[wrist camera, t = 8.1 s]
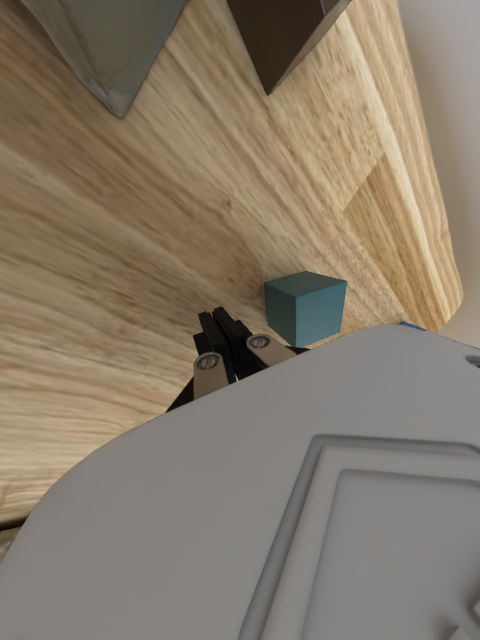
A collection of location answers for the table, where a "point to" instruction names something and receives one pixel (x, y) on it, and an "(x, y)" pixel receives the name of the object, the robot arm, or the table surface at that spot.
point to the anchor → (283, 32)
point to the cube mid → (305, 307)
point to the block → (108, 41)
